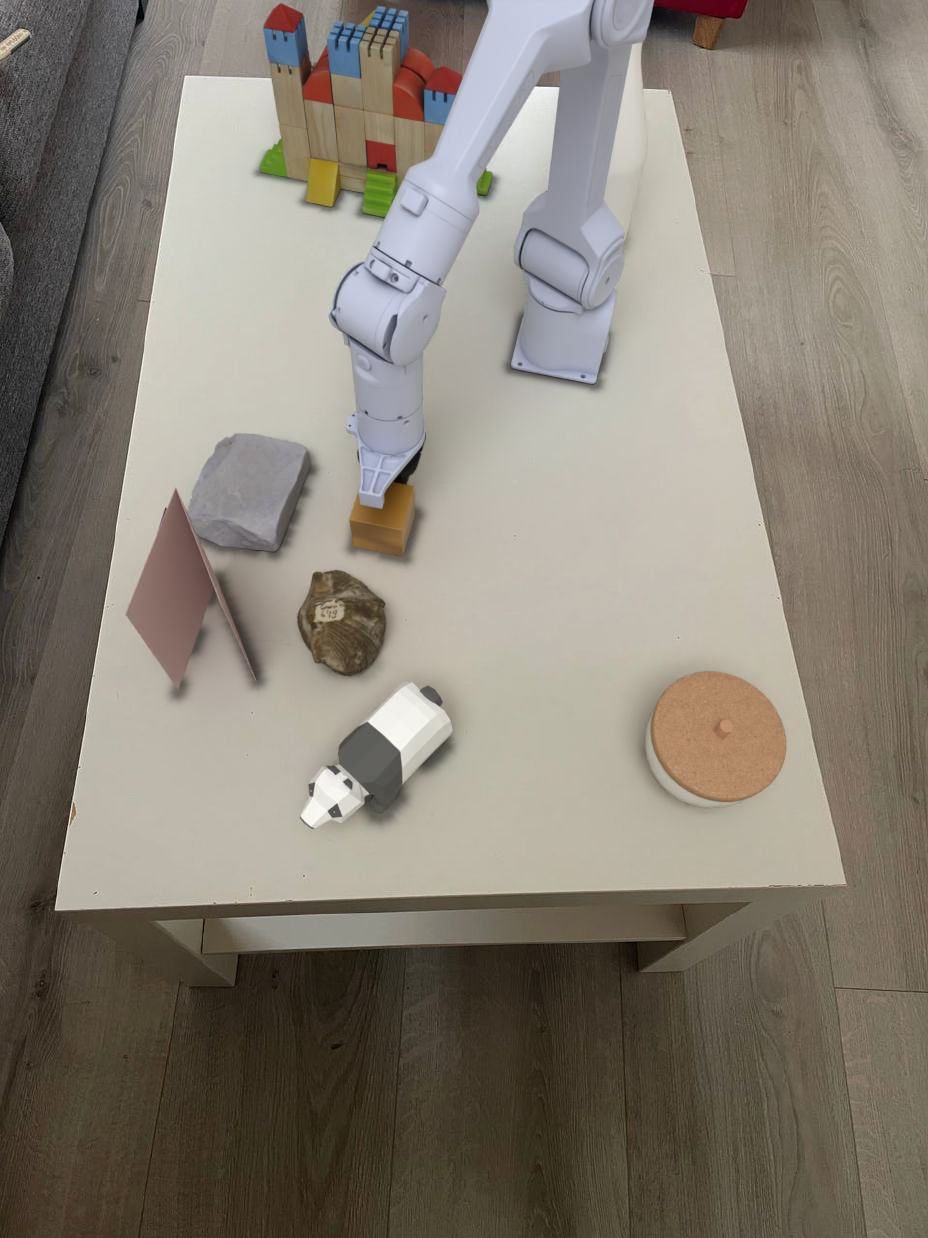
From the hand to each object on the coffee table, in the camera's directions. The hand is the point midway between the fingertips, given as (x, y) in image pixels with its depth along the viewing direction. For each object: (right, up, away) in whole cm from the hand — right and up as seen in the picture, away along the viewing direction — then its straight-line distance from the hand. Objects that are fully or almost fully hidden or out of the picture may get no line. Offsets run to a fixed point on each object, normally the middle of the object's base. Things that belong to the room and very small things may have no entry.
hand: (394, 488), depth 84 cm
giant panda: (0, -26, -11) cm, 28 cm away
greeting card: (-15, -15, -6) cm, 22 cm away
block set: (-4, +43, +23) cm, 49 cm away
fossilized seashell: (-4, -14, -5) cm, 16 cm away
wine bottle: (+22, +34, +20) cm, 45 cm away
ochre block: (-1, -4, 0) cm, 4 cm away
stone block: (-14, -1, +1) cm, 15 cm away
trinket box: (+27, -25, -9) cm, 38 cm away
